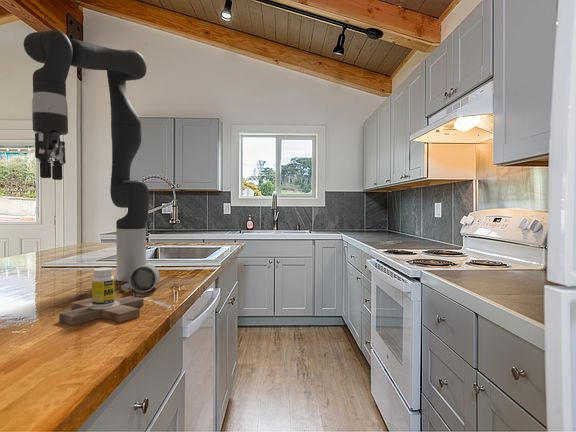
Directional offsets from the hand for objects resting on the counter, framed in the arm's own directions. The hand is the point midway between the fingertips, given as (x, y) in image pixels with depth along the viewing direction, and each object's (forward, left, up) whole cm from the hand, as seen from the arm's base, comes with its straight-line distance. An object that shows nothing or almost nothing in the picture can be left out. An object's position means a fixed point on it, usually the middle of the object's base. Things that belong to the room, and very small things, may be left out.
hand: (51, 179), depth 95 cm
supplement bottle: (+12, +14, -30) cm, 35 cm away
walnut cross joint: (+12, +14, -32) cm, 37 cm away
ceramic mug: (-11, +20, -32) cm, 39 cm away
